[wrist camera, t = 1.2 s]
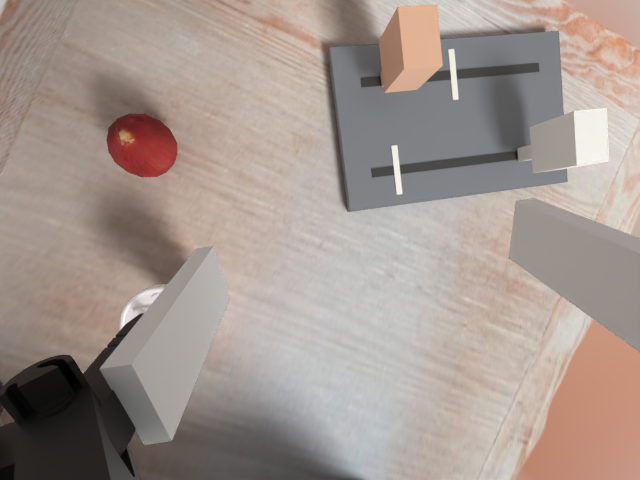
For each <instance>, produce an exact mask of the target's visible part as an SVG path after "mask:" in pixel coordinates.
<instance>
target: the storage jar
mask: <svg viewBox="0 0 640 480" xmlns="http://www.w3.org/2000/svg"><path fill="white" fill-rule="evenodd" d="M2 387H3V386H2V384H1V381H0V390H1V388H2ZM2 411H3V406H2V404H1V403H0V415H1V413H2Z"/></svg>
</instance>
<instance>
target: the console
mask: <svg viewBox="0 0 640 480" xmlns="http://www.w3.org/2000/svg"><path fill="white" fill-rule="evenodd" d="M440 41H441V52H442V63H443V66H442V67H441V68H440V69H439V70H438V71H437V72H435V73H434V74H433V75H432V76H431V77H430V78H429V79H428V80H427V81H426V82H425V83H424V84H423V85H422V86H421V87H420V88H418V89H417V90H411V91H400V92H389V93H384V87H382V86H381V77H380V72H381V71H382V67H381V57H380V48H379V44H369V45H355V46H342V47H330V49H329V53H328V59H329V67H330V75H331V83H332V91H333V99H334V107H335V115H336V123H337V131H338V139H339V147H340V154H341V162H342V170H343V178H344V186H345V194H346V202H347V210H348V212H351V211H359V210H366V209H373V208H380V207H388V206H395V205H402V204H410V203H417V202H424V201H431V200H439V199H446V198H453V197H461V196H468V195H475V194H482V193H490V192H497V191H504V190H512V189H519V188H526V187H533V186H541V185H548V184H555V183H563V182H568V181H567V169H561V170H554V171H546V172H539V173H533V168H532V160H528V161H520V162H518V150H517V148H520V147H524V146H527V145H530V144H531V139H530V127H532V126H534V125H537V124H540V123H543V122H545V121H548V120H551V119H554V118H556V117H559V116H562V115H564V112H563V95H562V77H561V60H560V43H559V31H551V32H537V33H523V34H509V35H495V36H481V37H467V38H453V39H440Z"/></svg>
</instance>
